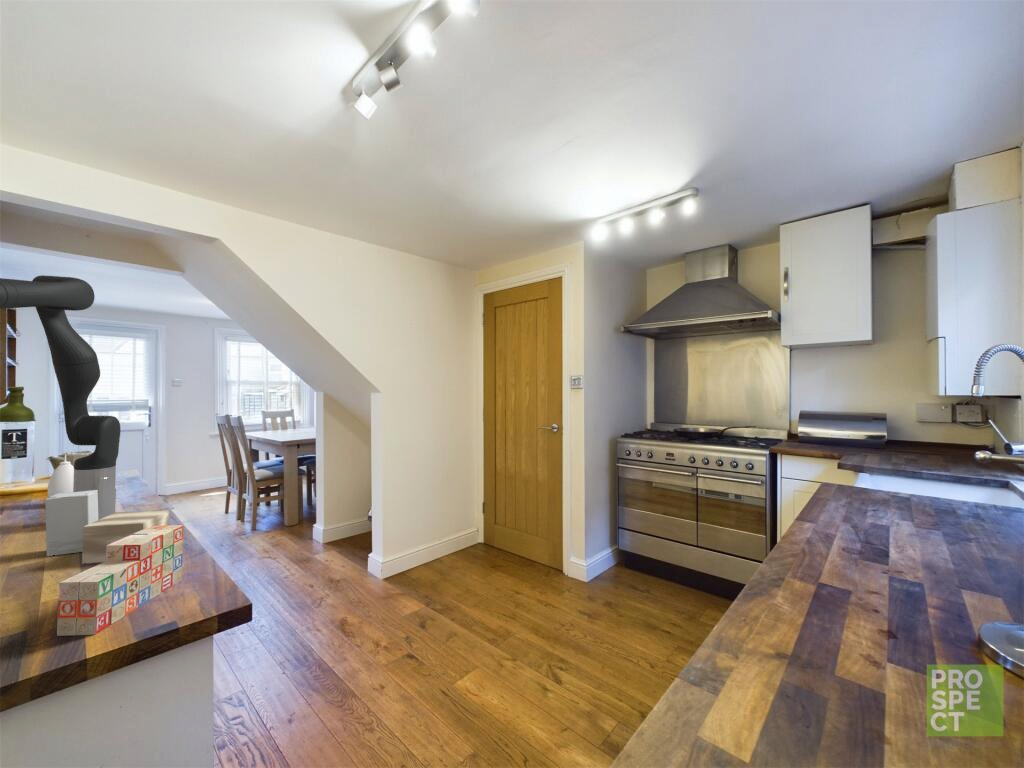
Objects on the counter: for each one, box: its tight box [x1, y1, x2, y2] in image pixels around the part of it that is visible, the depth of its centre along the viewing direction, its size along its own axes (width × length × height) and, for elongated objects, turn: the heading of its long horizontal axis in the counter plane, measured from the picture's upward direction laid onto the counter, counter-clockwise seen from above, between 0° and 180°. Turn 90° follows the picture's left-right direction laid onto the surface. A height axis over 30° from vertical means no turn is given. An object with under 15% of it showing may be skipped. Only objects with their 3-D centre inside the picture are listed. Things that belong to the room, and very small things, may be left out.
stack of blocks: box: [56, 524, 184, 637], centre depth 81 cm, size 21×6×12 cm, turn 5°
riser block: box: [81, 509, 170, 565], centre depth 107 cm, size 12×12×9 cm
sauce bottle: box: [47, 454, 74, 498], centre depth 146 cm, size 8×8×18 cm
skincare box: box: [44, 490, 98, 557], centre depth 107 cm, size 8×6×15 cm
